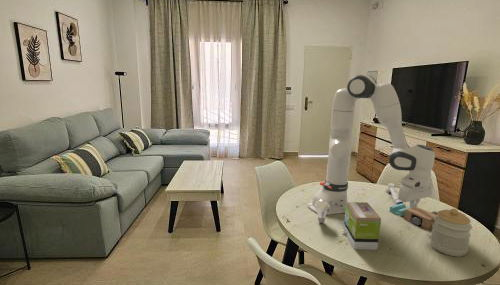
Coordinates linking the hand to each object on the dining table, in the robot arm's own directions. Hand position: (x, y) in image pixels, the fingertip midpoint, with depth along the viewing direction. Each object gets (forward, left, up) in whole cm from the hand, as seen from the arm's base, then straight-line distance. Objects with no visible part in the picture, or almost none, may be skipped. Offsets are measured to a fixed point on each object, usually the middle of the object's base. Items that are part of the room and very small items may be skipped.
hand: (413, 207), depth 133 cm
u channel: (+9, +11, -10) cm, 17 cm away
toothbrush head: (+22, +25, -10) cm, 34 cm away
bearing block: (+7, -1, -10) cm, 12 cm away
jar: (-4, -19, -10) cm, 21 cm away
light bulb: (-38, +20, -10) cm, 44 cm away
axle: (+10, -1, -10) cm, 14 cm away
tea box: (-33, +1, -10) cm, 34 cm away
